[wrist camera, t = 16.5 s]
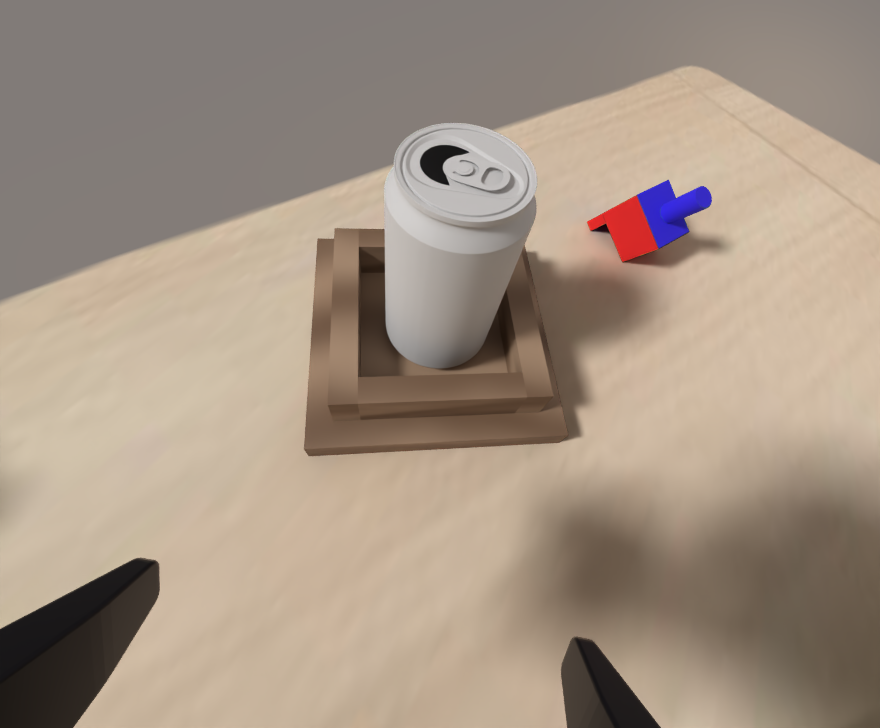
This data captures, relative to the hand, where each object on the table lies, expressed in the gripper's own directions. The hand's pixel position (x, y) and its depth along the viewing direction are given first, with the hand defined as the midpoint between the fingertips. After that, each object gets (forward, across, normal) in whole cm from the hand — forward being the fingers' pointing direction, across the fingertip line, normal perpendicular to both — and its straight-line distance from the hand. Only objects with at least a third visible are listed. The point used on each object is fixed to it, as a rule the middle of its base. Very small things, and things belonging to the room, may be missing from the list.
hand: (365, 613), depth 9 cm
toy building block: (+30, -14, -10) cm, 34 cm away
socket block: (+20, 0, -1) cm, 20 cm away
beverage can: (+19, 0, -2) cm, 19 cm away
